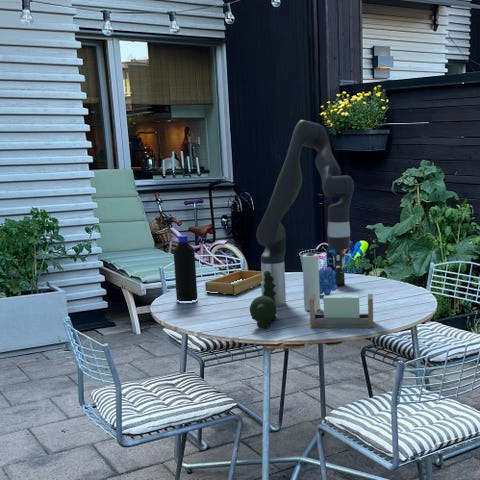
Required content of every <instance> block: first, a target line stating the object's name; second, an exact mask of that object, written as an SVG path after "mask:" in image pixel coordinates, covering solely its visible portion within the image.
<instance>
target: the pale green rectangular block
mask: <svg viewBox="0 0 480 480" xmlns="http://www.w3.org/2000/svg"><path fill="white" fill-rule="evenodd" d="M323 314H324V318H360V314H361V313H360V295H357V294H356V295H354V294H353V295H347V294H346V295H323Z"/></svg>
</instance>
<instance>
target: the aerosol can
mask: <svg viewBox="0 0 480 480" xmlns="http://www.w3.org/2000/svg"><path fill="white" fill-rule="evenodd" d="M334 253H335V250H331V249H329V248H328V247H327V249H326V250H325V254H326V268H327V267H331V268H332V271H333V270H335V268H334V260H333V254H334ZM345 280H346V279H345V267H344V268H343V279H342V284H336V285H337V288H338V287H344V286H346V283H345V282H346V281H345Z"/></svg>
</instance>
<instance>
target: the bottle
mask: <svg viewBox="0 0 480 480" xmlns="http://www.w3.org/2000/svg"><path fill="white" fill-rule="evenodd" d="M177 241H178V243H177V245H176V246H175V248H174V249H173V262H174V263H173V264H174V278H175V279H174V281H175V293H176V294H175V295H176V301H177V300H179V301H192V300H196V299H197V298H198V287H197V285H198V284H197V270H196V255H195V254H196V252H195V248H194V247H193V246H192V244H190V242H189V237H188V235H184V234H183V235H178V236H177Z"/></svg>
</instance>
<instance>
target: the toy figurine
mask: <svg viewBox="0 0 480 480" xmlns="http://www.w3.org/2000/svg"><path fill="white" fill-rule="evenodd" d="M264 276H265V278H264V282H265V283H264V285H263V287H264V289H265V290H264V292H263V296H262V295H260V296H257V297H256V298H254V299H253V300H252V301H251V303H250V305H249V312H250V316H251V319H252V320H253V321H256V325H257V327H258V328H259V329H268V328H269V327H270V323H273V324H274V323H275V322H276V321H277V318H278V316H277V314H278V306H276V304H275V303H276V302H275V298H274V295H276V292H274V290H273V289H274V287H275V284H273V280H274V278H273V277H272V276H271V273H270V272H269V271H265V272H264Z"/></svg>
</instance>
